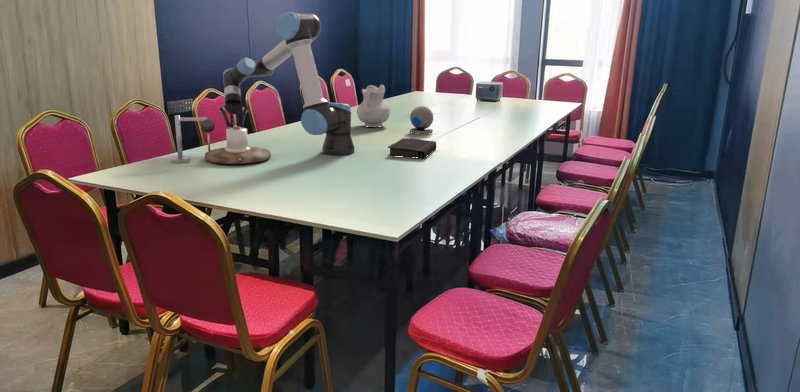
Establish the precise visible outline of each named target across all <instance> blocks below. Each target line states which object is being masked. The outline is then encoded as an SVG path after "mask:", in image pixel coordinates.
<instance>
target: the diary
mask: <svg viewBox="0 0 800 392" xmlns="http://www.w3.org/2000/svg"><path fill="white" fill-rule="evenodd" d="M387 148H388V149H389V155H390V156H403V157H419V156H420V157H419V158H421V159H422V158H425V157H426V156H427V155H428V156H430V155H431V154H432V153H433V152H434V151H435V150H436V149H437V141H435V140H426V139H421V138H419V139H418V138H409V137H407V138H405V137H403V138H401V139H399V140H397V141H396V142H394V143H392V144H390V145H388V146H387ZM433 150H434V151H433ZM432 151H433V152H432ZM431 152H432V153H431ZM430 153H431V154H430ZM429 154H430V155H429ZM428 156H427V157H428ZM427 157H426V158H427ZM426 158H425V159H426Z"/></svg>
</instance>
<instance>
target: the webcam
mask: <svg viewBox="0 0 800 392" xmlns="http://www.w3.org/2000/svg"><path fill="white" fill-rule="evenodd" d="M409 116H410V117H409V119H410V121H409V122H410V123H411V125H412V126H413V127H411V128H410V129H409V133H410V132H412V133H418V134H428V135H430V134H429V133H432V132H433V133H434V131H433V129H429V127H431V125H432V123H433V121H434V113H433V112H432V110H431V109H430V108H429V107H427V106H424V105H418V106H416V107H415V108H413V110H412V111H411V113H410V115H409ZM412 133H411V134H412ZM433 133H432V134H433ZM418 134H417V135H418Z"/></svg>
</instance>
